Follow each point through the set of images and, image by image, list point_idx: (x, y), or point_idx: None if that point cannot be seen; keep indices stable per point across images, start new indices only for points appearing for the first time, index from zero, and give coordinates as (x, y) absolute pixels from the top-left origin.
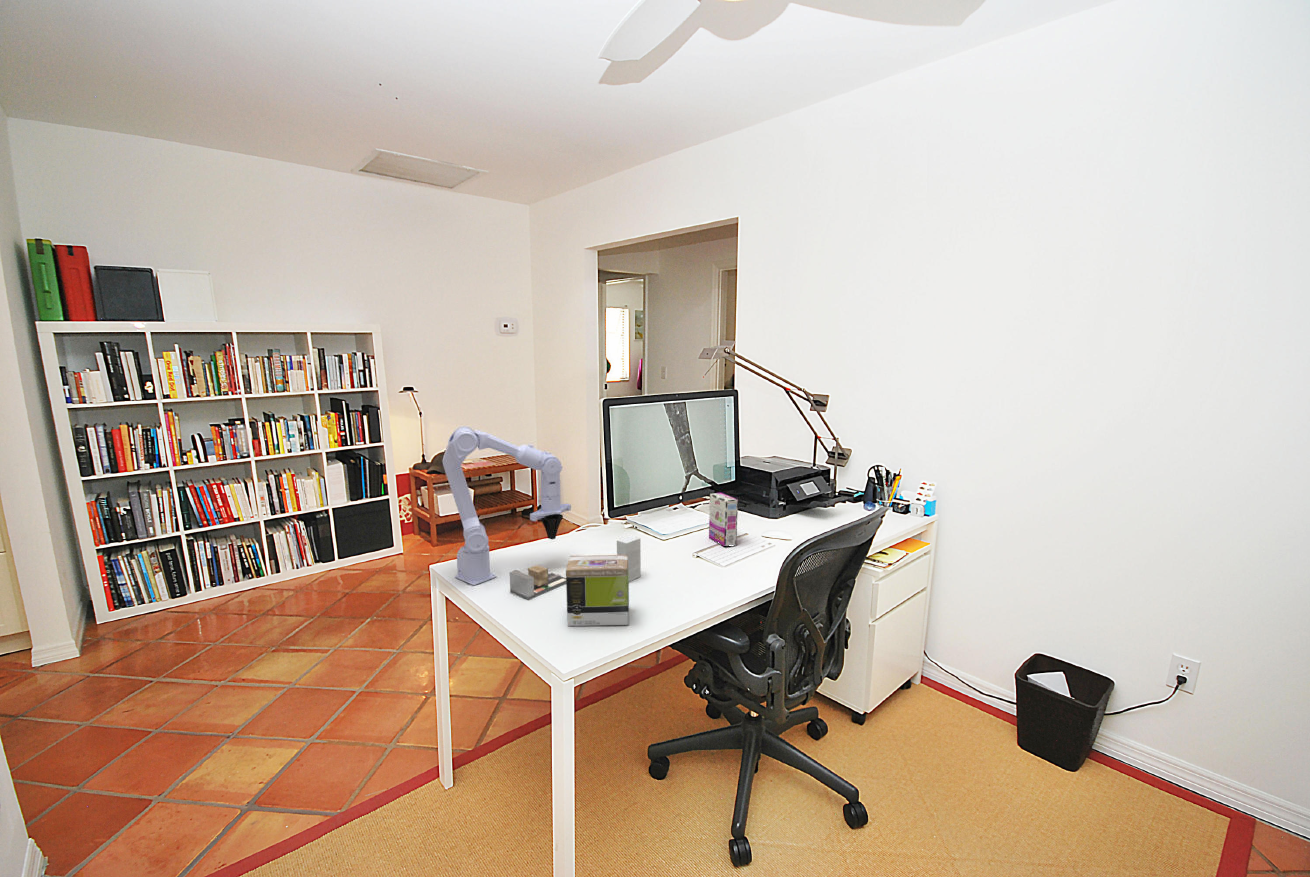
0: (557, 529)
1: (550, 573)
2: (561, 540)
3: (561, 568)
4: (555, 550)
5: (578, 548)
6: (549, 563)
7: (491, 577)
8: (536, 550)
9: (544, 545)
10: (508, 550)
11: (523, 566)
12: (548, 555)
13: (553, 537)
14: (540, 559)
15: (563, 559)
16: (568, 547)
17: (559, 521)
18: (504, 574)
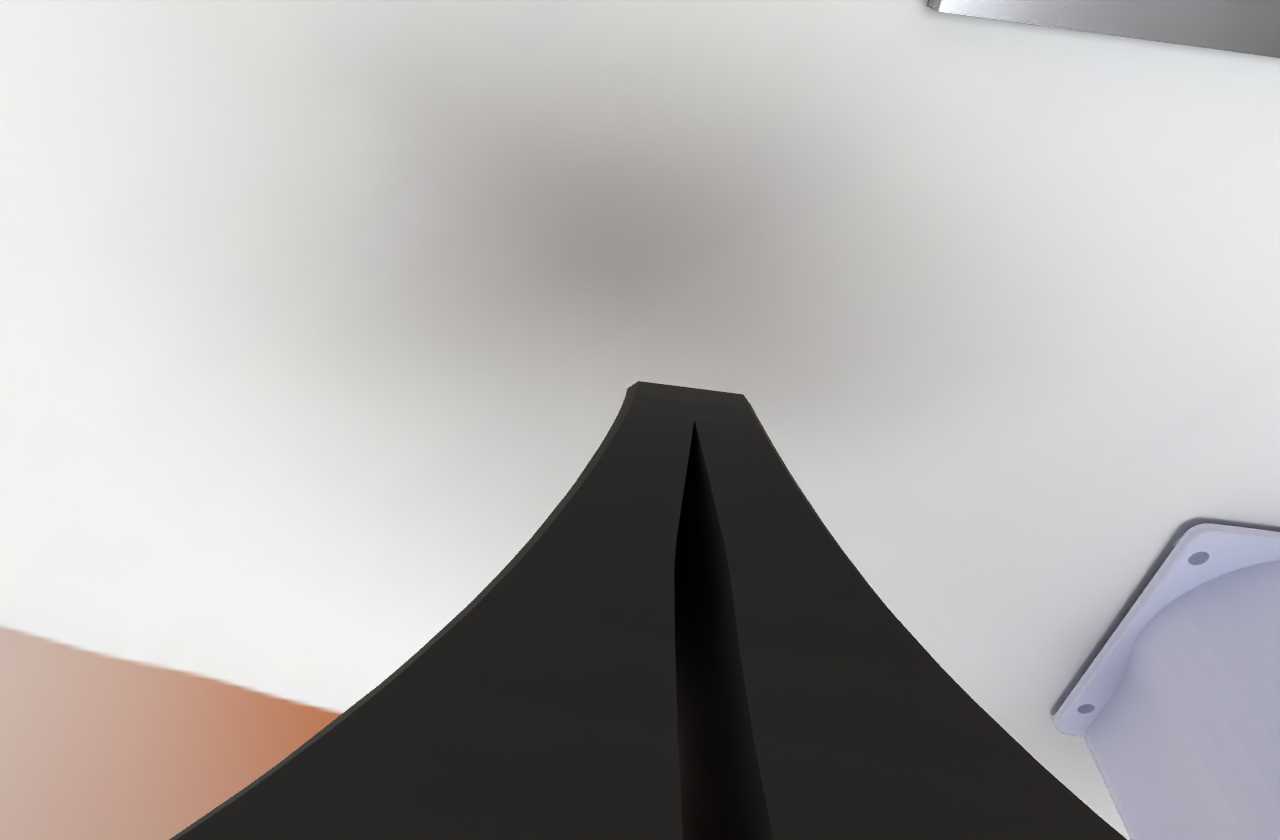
0: (571, 512)
1: (968, 10)
2: (69, 594)
3: (630, 68)
4: (276, 495)
5: (14, 336)
6: (590, 322)
7: (1270, 540)
8: (418, 619)
9: (281, 633)
10: None
11: (815, 489)
12: (424, 471)
13: (728, 408)
14: (562, 469)
15: (382, 262)
16: (106, 443)
17: (445, 778)
18: (1088, 507)
